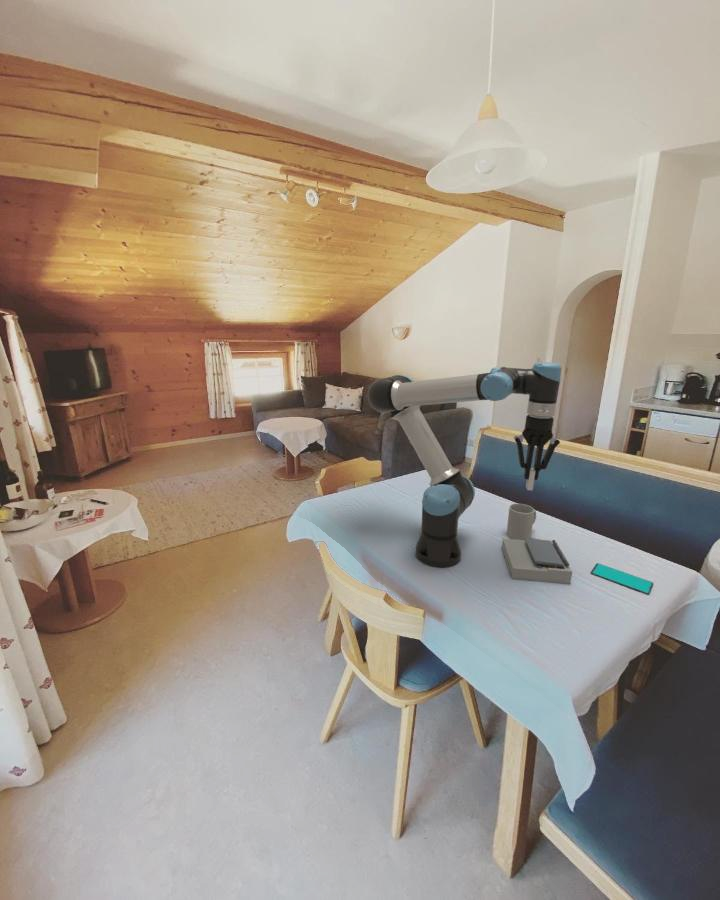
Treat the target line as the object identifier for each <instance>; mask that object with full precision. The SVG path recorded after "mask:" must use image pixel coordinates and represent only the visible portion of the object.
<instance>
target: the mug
mask: <svg viewBox="0 0 720 900" xmlns="http://www.w3.org/2000/svg"><path fill="white" fill-rule="evenodd" d="M536 520H537V510H536V509H534V507H532V506H530V505H528V504H526V503H525V504H524V503H512V504H510V506H509V508H508V517H507V524H506V526H507V527H506V535H507V537H509V539H516V540H525V538H532V534H533V525H534V524H535V523H536Z"/></svg>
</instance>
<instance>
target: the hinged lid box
mask: <svg viewBox="0 0 720 900" xmlns="http://www.w3.org/2000/svg"><path fill="white" fill-rule="evenodd" d="M547 540H548V541H550V542H551V543H552V545H553V547H554V549H555V551H556V552H557V554H558V556H559V558H560V559H561V561H562V563H563V567H561V566H554V568H546V566H545V564H538V563H535V562H534V560H533V558H532V555H531V553H530V551H529V549H528V547H527V544H526V542H525V540H516V539H512V538H502V541H501V550H502V553H503V555H504V556H503V557H504V559H505V561H506V565H507V568H508V571H509V575H510V577H511V579H512V580H513V579H514V580H522V581H523V580H524V581H532V582H533V581H534V582H535V581H536V582H546V583H556V584H558V583H559V584H567V585H568V584H569V585H571V582H572V577H573V570H572V569H571V566H570V565H569V566H566V565H565V563H564V561H563V560H562V558H561V556H560V554H559V553H558V551H557V549H556V547H555V546H554V544H553V542H552V539H551V540H549V539H547Z"/></svg>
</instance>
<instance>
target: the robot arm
mask: <svg viewBox="0 0 720 900" xmlns="http://www.w3.org/2000/svg"><path fill="white" fill-rule="evenodd" d="M561 374H562V365H561V364H559V363H556V362H546V361H545V362H544V361H543V362H542V361H541V362H535V363H534V364H533V365H532V368H517V367H506V366H502V367H501V366H500V367H499V366H498V367H497V366H496V367H495V366H493V368H491V370H490V371H489V372H485V373H478V374H477V373H476V374H469V375H468V374H467V375H459V376H453V377H452V376H451V377H450V376H449V377H443V378H435V379H433V378H432V379H425V380H415V381H414V379H413V378H411V377H409V376H407V375H403V374H402V375H401V374H396V375H392V376H388V377H383V378H379V379H377V380H375V381H374V382H372V384H371V385H369V388H368V390H367V401H368V404H369V406H370V407H371V408H372V409H373V410H375V411H376V412H378V413H382V414H384V413H388V414H389V416H390V417H391V418H392V419H393V420H394V421H395V420H396V421H398V423H399V425H400V426H401V428H402V429H403V431H404V433H405V435H406V437H407V438H408V440H409V442H410V444H411V445H412V447H413V450H414V451H415V453H416V454H417V456H418V459H419V460H420V463H422V466H423V467H424V469H425V470H426V472H427V474H428V476H429V478H430V482H429V487H427V488H426V489H425V490H424V491H423V496H422V500H421V507H422V508H421V533H420V535H419V537H418V540H417V542H416V545H415V556H416V558H417V559H418V561H420V563H423V564H425V565H428V566H430V567H435V568H448V567H453V566H455V565H457V564H459V562H460V561H461V559H462V549H461V544H460V541H459V538H458V528H459V527H458V526H459V525H458V524H459V518H460V517H461V516H462V515H463V513H465V511H466V510H467V509H468V508H469V507H471V504H472V503H473V501H474V498H475V496H476V495H475V494H476V490H475V489H476V488H475V486H474V484H473V482H472V480H470V479H469V477H467V476H464V475H463V474H462V473H461V471H460V469H458V468H455V467H453V466H452V464H451V461H450V460H449V459H448V457H447V455H446V453H445V451H444V450H443V448H442V446H441V444H440V443H439V441H438V438H436V436H435V433H433V431H432V429H431V427H430V425H429V423H428V421H427V420H426V418H425V416H424V414H423V413H422V411H421V409H420V407H421V406H426V405H427V406H429V405H431V406H432V405H440V404H451V403H464V402H475V401H476V402H477V401H490V402H497V401H502V400H505V399H506V398H508V397H509V396H510V395H512V394H516V395H518V394H519V395H528V396H529V397H528V404H527V410H526V414H527V415H526V416H525V417H526V418H525V423H524V429H523V430H522V432H521V434H519V435H515V436H514V437H513V439H514V441H515V443H516V448H517V455H518V456H517V457H518V463H519V467H520V468H521V469H524V473H523V477H524V479H525V480H526V483H525V489H526V490H527V491H532V492H533V490H534V483H535V481H538V479H539V474H540V473H539V472H541V470H546V469H547V468H548V464H549V463H550V461H551V458H552V455H553V453H554V451H555V449H556V447H558V446H559V444H560V443H561V441H560V440H559V439H558V438H556V437H555V436H554V435H553V426H554V419H555V418H554V417H553V416H555V413H556V412H555V411H556V408H557V401H558V395H559V390H560V385H561V384H560V383H561ZM524 440H525V441H526V444H527V451H526V458H525V455H524V446H523V443H524ZM548 442H549V445H548V446H547V449H546V451H545V453H544V456H543V451H544V447H545V445H546V444H548ZM535 448H536V449H535ZM534 451H535V456H534ZM533 456H534V464H533V467H532V462H533ZM542 457H543V458H542Z"/></svg>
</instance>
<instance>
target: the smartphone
mask: <svg viewBox="0 0 720 900" xmlns="http://www.w3.org/2000/svg"><path fill="white" fill-rule="evenodd" d="M590 575H592V576H594V577H598V578H600V579H603V580H606V581H607V582H608V581H609V582H611V583H613V584H617V585H619V586H621V587H625V588H627V589H630V590H633V591H634V592H638V593H641V594H644V595H646V596H649V595H650V593H651V590H652V588H653V586H654V582H653V581H650V580H647V579H644V578H641V577H638V576H636V575H633V574H630V573H627V572H624V571H623V570H622V571H621V570H619V569H616V568H613V567H610V566H607V565H604V564H601V563H596V564H595V565H594V567H593V568H592V569H591V571H590Z"/></svg>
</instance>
